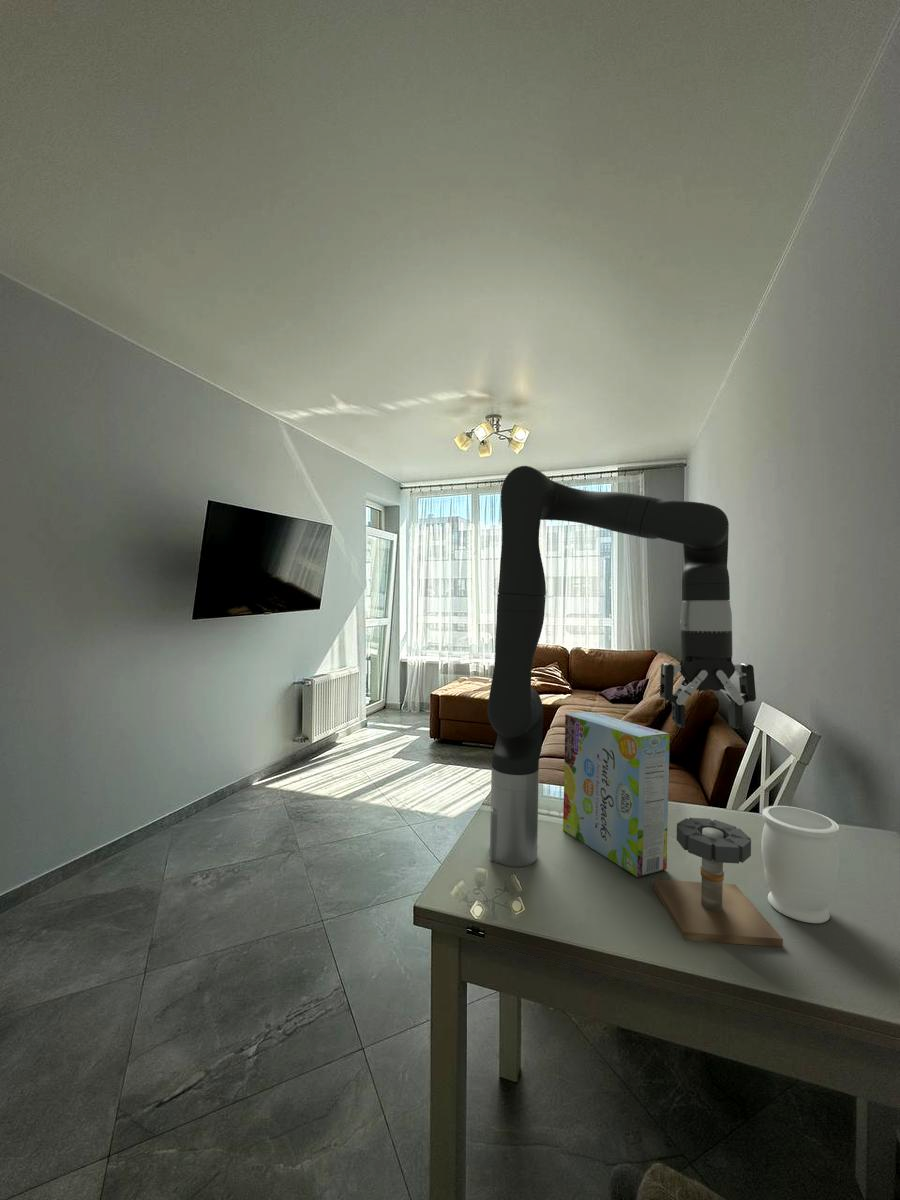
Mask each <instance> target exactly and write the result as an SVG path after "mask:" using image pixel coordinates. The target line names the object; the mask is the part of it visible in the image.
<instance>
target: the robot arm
mask: <svg viewBox="0 0 900 1200" xmlns="http://www.w3.org/2000/svg"><path fill="white" fill-rule="evenodd" d="M500 490H501V491H500V513H501V514H500V516H501V550H500V561H499V576H498V577H499V578H498V579H499V580H498V589H497V597H496V598H497V599H496V601H497V602H496V626H495V642H494V643H495V646H494V647H495V650H494V663H493V673H492V677H491V678H492V679H491V685H490V689H489V696H488V701H487V717H488V721H489V723H490V726H491V727H492V728H493V730H494V731H495V732H496V733H497V737H496V742H495V745H494V748H493V749H492V752H491V781H490V783H491V784H490V787H491V788H490V815H489V816H490V821H489V827H490V829H489V861H490V862H496V863H499V864H500V865H504V866H509V867H516V868H517V867H525V866H527V867H528V866H529V865H532V864H534V863H535V862H536V861H537V859H538V847H539V846H538V845H539V844H538V839H539V838H538V837H539V836H538V834H539V833H538V832H539V831H538V830H539V829H538V828H539V784H540V782H539V779H540V778H539V776H540V775H539V774H540V773H539V771H540V767H539V766H540V757H541V753H542V748H543V747H542V746H543V731H544V730H543V727H544V707H543V702H542V698H541V697H540V694H539V693H538V692H537V690H536V689H534V688H533V687H532V668H533V662H534V657H535V654H536V650H537V649H538V644H539V642H540V641H539V640H540V638H541V634H542V631H543V627H544V626H543V625H544V620H545V611H546V596H547V588H546V586H547V585H546V576H545V571H544V570H545V569H544V565H543V559H542V555H541V550H540V529H541V520H543V521H545V520H546V521H564V522H572V523H576V524H577V523H578V524H582V525H587V526H592V527H596V528H599V529H604V530H607V531H612V532H616V533H619V534H620V533H621V534H625V535H630V536H632V537H633V536H635V537H638V538H639V537H640V538H642V539H643V538H644V539H650V540H651V539H652V540H655V539H661V540H664V541H665V540H666V541H669V542H674V543H678V544H682V545H683V546H682V547H683V564H684V565H683V567H684V568H683V571H682V576H681V608H680V621H679V626H680V656H681V660H680V663H679V664H674V663H673V664H671V663H668V662H663V663H661V665H660V682H659V697H660V698H661V699H663V700H665V701H668V702H670V703H671V717H672V718H671V719H672V722H673V723H674V724H675V726H676V727H678V728H686V705H685V704H684V703H685V702H686V700H687V699H688V698H689V697H690V696H692V695H693V694H694V693H695V692H696V690H697V691H701V692H702V691H703V692H705V691H708V690H709V691H713V692H717V691H718V692H722V693H723V694H724V695H725V696H726V698H727V700H728V701H729V702H730V703H727V707H728V711H727V713H728V726H729V727H731V728H733V729H740V727H741V726H742V725H743V723H744V718H743V717H744V716H743V714H744V713H743V711H744V709H743V707H744V704H746V703H750V702H755V701H756V699H757V695H756V694H757V693H756V683H755V682H756V681H755V670H754V666H753V665H752V664H749V663H745V662H740V663H738V664H734V662H733V660H732V659H733V615H732V614H733V613H732V609H731V601H730V600H731V598H730V597H731V591H730V589H731V588H730V584H731V583H730V575H729V569H728V559H729V558H728V556H729V534H730V533H729V530H730V529H729V525H730V523H729V518H728V516H727V515H726V513H725V512H724V511H723V510H722V509H721V508H720V507H717V506H715V505H713V504H709V503H705V502H698V501H684V500H668V499H662V498H658V497H654V496H653V497H652V496H648V495H647V496H646V495H641V494H636V493H629V492H620V491H597V490H596V491H594V490H585V489H579V488H574V487H571V486H567V485H565V484H561V483H559V482H557V481H554V480H552V479H550V478H549V476H547V475H546V474H545V473H543V472H542V471H540V470H539V469H537V468H536V467H533V466H531V465H530V466H529V465H519V466H517V467H515V468H512V470H510V471H509V472H508V474H507V475H506V476H505V478H504V480H503V482H502V485H501V489H500ZM678 673H680V674H681V676H683V679H682V680H681V682H680V683H679V684H678V685H677V689H676V690H675V691H674V678H676V677H677V676H678ZM734 674H735V675H736V677H738V680H739V681H738V682H739V692H738V689H737V688H736V686H734V683H732V682H731V680H730V679H731V678H732V676H733V675H734Z"/></svg>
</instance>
